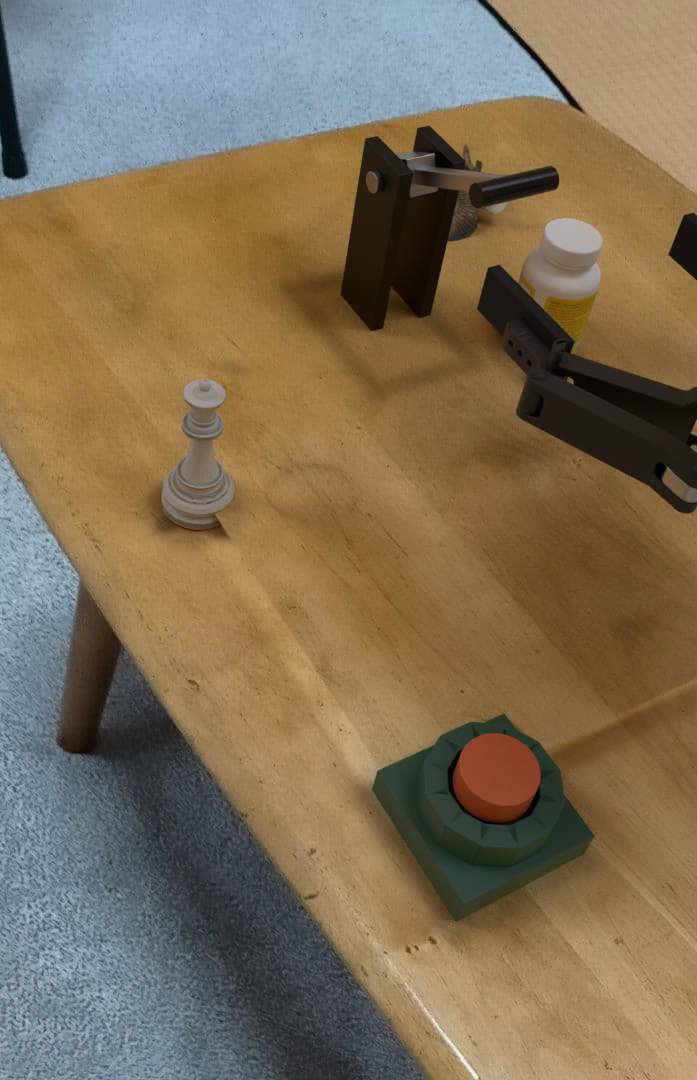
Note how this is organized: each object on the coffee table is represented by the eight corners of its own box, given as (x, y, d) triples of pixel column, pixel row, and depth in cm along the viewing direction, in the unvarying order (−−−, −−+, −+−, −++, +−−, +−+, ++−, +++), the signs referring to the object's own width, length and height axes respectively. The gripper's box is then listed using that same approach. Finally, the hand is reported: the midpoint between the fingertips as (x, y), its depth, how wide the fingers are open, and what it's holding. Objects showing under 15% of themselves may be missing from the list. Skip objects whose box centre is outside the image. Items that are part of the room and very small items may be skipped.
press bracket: (473, 357, 88) (519, 189, 78) (378, 385, 84) (412, 214, 74) (386, 259, 94) (417, 92, 84) (294, 282, 91) (315, 111, 80)
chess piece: (156, 480, 76) (159, 356, 69) (227, 475, 77) (238, 352, 70) (166, 534, 73) (170, 410, 66) (239, 528, 74) (252, 406, 67)
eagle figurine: (433, 169, 101) (357, 183, 95) (492, 123, 96) (415, 135, 90) (472, 254, 101) (398, 274, 95) (534, 213, 95) (459, 231, 90)
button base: (496, 732, 67) (513, 691, 64) (584, 854, 63) (607, 816, 60) (370, 790, 64) (382, 749, 61) (455, 922, 60) (472, 885, 57)
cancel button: (502, 739, 63) (510, 720, 61) (548, 803, 61) (557, 785, 59) (436, 770, 61) (443, 751, 60) (482, 836, 59) (489, 818, 58)
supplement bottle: (588, 350, 90) (629, 238, 83) (548, 384, 87) (586, 271, 80) (527, 315, 92) (562, 201, 85) (486, 346, 89) (518, 232, 81)
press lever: (560, 200, 72) (558, 157, 71) (484, 218, 70) (481, 175, 69) (435, 183, 83) (432, 146, 82) (365, 199, 81) (361, 161, 80)
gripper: (637, 669, 54) (385, 368, 65) (998, 500, 65) (729, 266, 76) (696, 559, 49) (409, 250, 60) (1080, 394, 59) (776, 157, 70)
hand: (587, 258), depth 68 cm, fingers open, 13 cm apart
